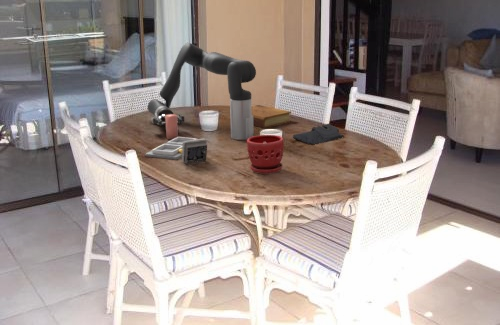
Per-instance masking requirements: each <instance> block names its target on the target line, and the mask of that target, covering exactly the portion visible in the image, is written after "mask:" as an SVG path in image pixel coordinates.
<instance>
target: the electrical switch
mask: <svg viewBox="0 0 500 325" xmlns="http://www.w3.org/2000/svg"><path fill="white" fill-rule="evenodd" d="M196 139H197V140H188V141H184V142H183V147H182V157H181V162H182V163H185V164H186V165H187V166H189V165H195V164H203V163H206V162H207V155H208V154H207V153H208V144H207V143H208V139H206V138H199V139H198V138H196Z"/></svg>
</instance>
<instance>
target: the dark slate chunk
mask: <svg viewBox="0 0 500 325" xmlns="http://www.w3.org/2000/svg"><path fill="white" fill-rule="evenodd" d="M339 131H340V130H339V128H338V127H336V126H334V125H332V124H331V123H325V124H323V125H322V126H320V125H318V126H313V127H312V128H311V130H309V131H305V132H301V133H296V134H293V135H292V138H293V139H295V140H298V141H300V140H301V142H302V143H305V144H307V145H310V144H311V146H316V145H320V144H325V143H328V142H331V141H335V139H336V140H339V139H338V138H340V139H343V138H342V137H344V138H345V136H344V135H342V133H339ZM319 143H320V144H319ZM315 144H316V145H315Z"/></svg>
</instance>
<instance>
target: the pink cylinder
mask: <svg viewBox="0 0 500 325" xmlns="http://www.w3.org/2000/svg"><path fill="white" fill-rule="evenodd" d="M177 116H178V115H177V114H174V113H173V114H169V115H166V116H165V119H166V125H165V131H166V134H165V135H166V139H168V140H173V139H175V138H177V137H179V131H178V128H179V127H178V122H177V120H178V118H177Z"/></svg>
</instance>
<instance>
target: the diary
mask: <svg viewBox="0 0 500 325" xmlns="http://www.w3.org/2000/svg"><path fill="white" fill-rule="evenodd" d="M251 109H252V115H253V127H257V128H261V129H267V128H272V127H275V126H279V125H284V124H288V123H291V122H292V121H291V120H290V115H291V114H292V111H290V110H286V109H280V108H275V107H269V106H265V105H262V104H261V105H260V104H256V105H251ZM287 122H288V123H287ZM283 123H284V124H283Z"/></svg>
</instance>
